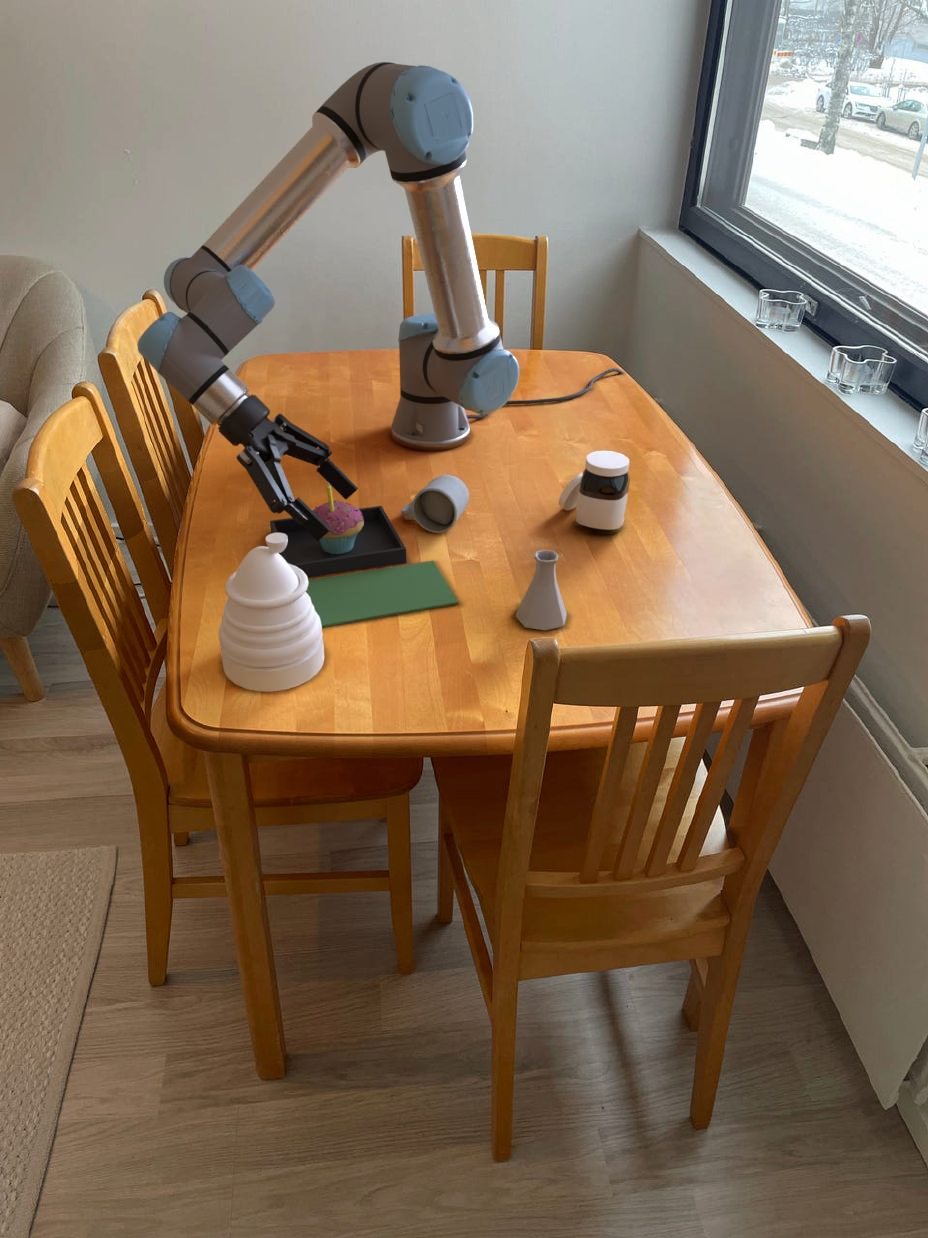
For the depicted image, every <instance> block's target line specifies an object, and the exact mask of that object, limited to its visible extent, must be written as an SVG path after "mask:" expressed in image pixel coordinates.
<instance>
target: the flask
mask: <svg viewBox="0 0 928 1238" xmlns="http://www.w3.org/2000/svg"><path fill="white" fill-rule="evenodd" d="M533 558H534V560H535V570H534V572H533V577H532V579H531V581H530V583H529V585H528V587H527V590H526V592H525V594H524V595H523V598H522V599H521V601H520V603H519V606H518V608H517V611H516V614H515V618H516V619H517V620H518V621H519V622H520V623H521V624H522V626H523V627H524V628H527V629H535V630H540V631H549V630H553V629H557V628H561V627H564V626H565V624H566V620H567V616H568V614H567V610H566V608H565V607H566V606H565V604H564V601H563V598H562V595H561V592H560V588H559V584H558V581H557V575H556V564H557V561H558V558H559V554H558V553H557V552H555V550H551V549H541V550H536V551H535V554H534V557H533Z"/></svg>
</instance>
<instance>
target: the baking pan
mask: <svg viewBox="0 0 928 1238" xmlns="http://www.w3.org/2000/svg"><path fill="white" fill-rule="evenodd" d="M358 509H359V510H360V511H361V513H362V516H363V517H364V518H363V521H364V526H363V527H362V529H361V530H360V531H359V532H358V534H357V536H356V538H355V541H354V545H353V548H352V549H351V550H350V551H349V552H346V553H343V554H330V553H327V552H326V551H324V550H323V548H322V546H321V543H320V541H317V540H316V539H315V538H314V537H313V536H312V535H311V534H310V533H309V532H308V531H307V530H306V529H305V528H304V527H303V526H301V525H300V524H298V523H297V522H296V521H295V520H294V519H293V518H292V517H287V518H279V519H273V520H272V519H271V520H269V529H270V530H269V531H270V534H272V533H284V534H286V535H287V536H288V542H287V546H286V548H285V549H284V551H282V552H281V553H279V554H280V555H281V556H282V557H283V558H284V559H285V561H286V562H287V563H288V564H291V565H294V566H296V567H298V568H299V569H301V570H302V571H303V572H304V573H305V574H306V575H307V578H308V579H312V578H316V577H324V576H330V575H337V574H338V575H339V574H343V573H350V572H356V571H363V570H370V569H376V568H381V567H382V568H384V567H388V566H389V567H390V566H394V565H396V566H397V565H402V564H407V547H406V546H405V544H404V542H403V540H402V539H401V537H400V535H399V534H398V531H397V530H396V528H395V526H394V525H393V523H392V521H391V520H390V518H389V516H388V514H387V513H386V510H385V509H384V507H383V506H382V505H376V506H368V507H367V506H366V507H361V508H358ZM297 578H298V577H297Z"/></svg>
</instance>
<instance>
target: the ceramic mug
mask: <svg viewBox="0 0 928 1238" xmlns="http://www.w3.org/2000/svg"><path fill="white" fill-rule="evenodd" d="M469 501H470V492H469V489H468V487H467V485H466V483H465V482H464V481H463V480H462V479H461V478H460V477H458V476H455V475H453V474H442V475H439V476H437V477H435V478H433V479H432V480H431V481H429V482H428V483H427V485H425V486H424V487H423V488H422V489H421V490H420V491H418V492H417V494H416V495H415V496H414V498H413V499H412V501H411V502H409V503H407V504H406V505H405V506H404V507H402V508H401V514H402V516H403V519H404V520H406V521H409V520H410V521H411V520H415V522H416V523H417V524H418V525H419V527H421V528H422V529H423V530H426V531H428V532H430V533H433V534H441V533H442V534H443V533H445V532H448V531H449V530H451V529H452V528H453V527H454V526H455V524H456V523H457V521H458V520H459V519H460V517H461V516H462V515H463V513H464V512H465V511H466V509H467V507H468V506H469Z"/></svg>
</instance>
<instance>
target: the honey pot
mask: <svg viewBox="0 0 928 1238" xmlns="http://www.w3.org/2000/svg"><path fill="white" fill-rule="evenodd" d="M265 542H266V545H267V546H264V545H260V546H257V547H254V548H252V549H251V550H249V552H248V553H246V555H245V556H244V558H243V559H242V560H241V562H240V564H239V566H238V568H237V570H236V571H234V572H233V573H232V574H231V575H230V576H229V577H228V578H227V580H226V582H225V585H224V588H225V594H226V595H227V600H226V601H225V603H224V606H223V614H222V616H221V623H220V625H219V627H218V641H219V648H220V655H221V661H222V667H223V672H224V674H225V675H226V678H227V679H228V680H230V681H231V682H232V683H233V684H234V685H236V686H238V687H241V688H243V689H245V690H249V691H255V692H268V693H269V692H270V693H271V692H279V691H280V692H281V691H287V690H289V689H293V688H296V687H299V686H301V685H302V684H305V683H307V682H309V681H310V680H311V679H313V678H314V677H316V675H317V674H319V672H320V671H321V669H322V668H323V665H324V661H325V646H324V637H323V636H324V635H323V627H322V625H321V620H320V617H319V615H318V614H317V613H316V611H315V608H314V606H313V605H312V603H311V598H310V597H309V595H308V594H307V593H306V590H307V587H308V583H309V582H308V580H309V578H307V575H306V574H305V573H304V572H303V571H302V570H301V569H299V568H298V567H296V566H294V565H291V564H288V563H287V562H286V561H285V559H284V558H283V557H282V556H281V555H280V554H279V553H281V552H282V551H284V549H285V548H286V546H287V542H288V536H287V535H286V534H284V533H272V534H271V533H270V534H268V535H266V537H265ZM297 577H298V578H297Z"/></svg>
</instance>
